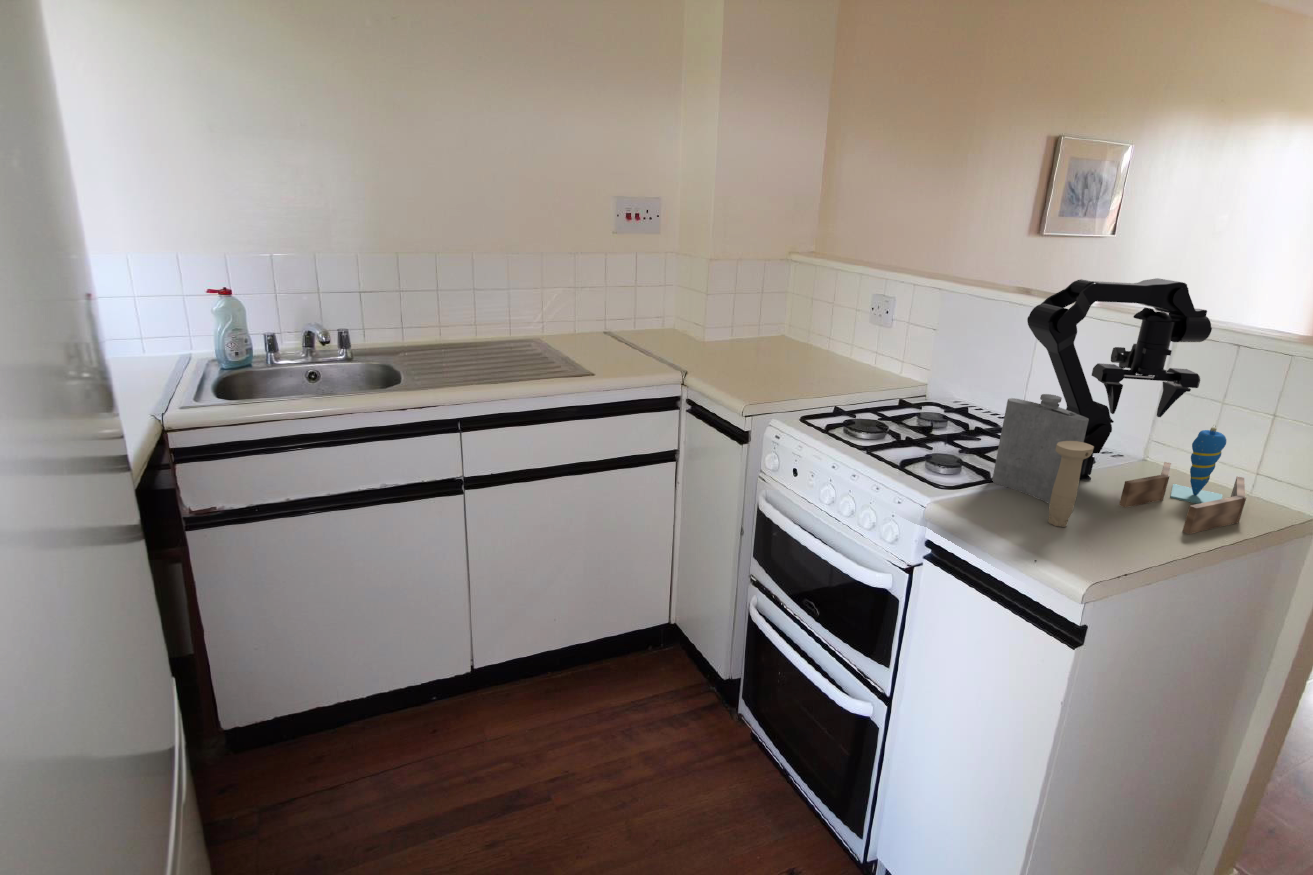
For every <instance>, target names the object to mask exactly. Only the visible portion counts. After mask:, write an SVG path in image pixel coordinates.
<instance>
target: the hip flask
mask: <svg viewBox="0 0 1313 875" xmlns="http://www.w3.org/2000/svg"><path fill="white" fill-rule="evenodd" d="M1039 400H1040V403H1038V402H1034V401H1030V400H1025V399H1021V398H1013V397H1011V398H1007V402H1006V406H1005V412H1004V417H1003V422H1002V428H1001V432H1000V437H999V441H998V442H999V444H998V449H997V453H996V458H995V463H994V468H993V474H992V479H991V482H992V481H993V482H992V483H994V484H996V485H999V486H1002V487H1006V488H1008V489H1012V490H1014V491H1017V492H1021V493H1022V494H1025V495H1028V496H1031V497H1033V498H1036V499H1038V500H1041V501H1043V502H1046V503H1048V504H1049V505H1050V499H1051V494H1052V490H1053V487H1054V483H1055V480H1056V477H1057V473H1058V470H1059V466H1060V463H1061V458H1062V456H1061V455H1060V454H1058V453H1057V452H1056V445H1057V443H1059V442H1062V441H1079V442H1084V438H1085V434H1086V430H1087V425H1088V421H1089V419H1088V418H1087V417H1084V416H1081V415H1078V414H1076V413H1074V412H1071V411H1068V410H1066V408H1063V407H1060V403H1061V402H1062V397H1061V396H1060V395H1056V394H1049V393H1043V394H1042V393H1041V394H1040V399H1039Z"/></svg>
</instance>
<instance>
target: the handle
mask: <svg viewBox="0 0 1313 875" xmlns="http://www.w3.org/2000/svg"><path fill="white" fill-rule="evenodd" d="M1093 449H1094V446H1092V445H1090V444H1087V443H1084V442H1079V441H1062V442H1059V443H1057V445H1056V452H1057V453H1058V454H1060V455H1061V456H1062V458H1061V463H1060V466H1059V470H1058V473H1057V477H1056V480H1055V483H1054V487H1053V490H1052V494H1051V499H1050V504H1049V506H1048V507H1049V508H1048V514H1049V516H1048V524H1050V525H1053V526H1054V527H1061V528H1065V527H1067V525H1068V523H1069V519H1070V518H1071V516H1072V513H1073V511H1074V507H1075V504H1076V500H1077V496H1078V490H1079V482H1080V479H1079V478H1080V472H1081V466H1082V462H1083V459H1086V458H1088V457H1089V456H1091V454H1092V453H1093ZM1093 454H1094V453H1093Z"/></svg>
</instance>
